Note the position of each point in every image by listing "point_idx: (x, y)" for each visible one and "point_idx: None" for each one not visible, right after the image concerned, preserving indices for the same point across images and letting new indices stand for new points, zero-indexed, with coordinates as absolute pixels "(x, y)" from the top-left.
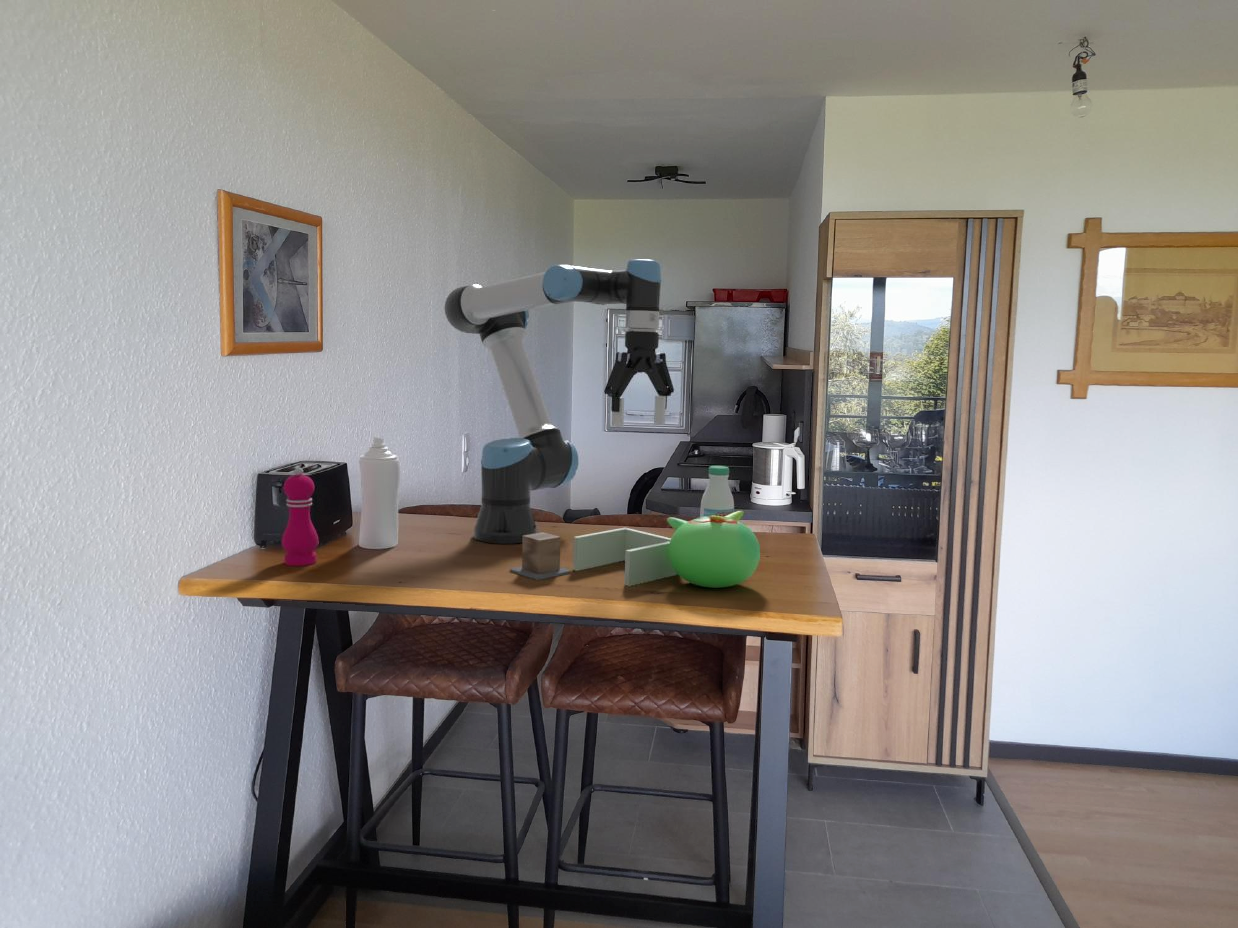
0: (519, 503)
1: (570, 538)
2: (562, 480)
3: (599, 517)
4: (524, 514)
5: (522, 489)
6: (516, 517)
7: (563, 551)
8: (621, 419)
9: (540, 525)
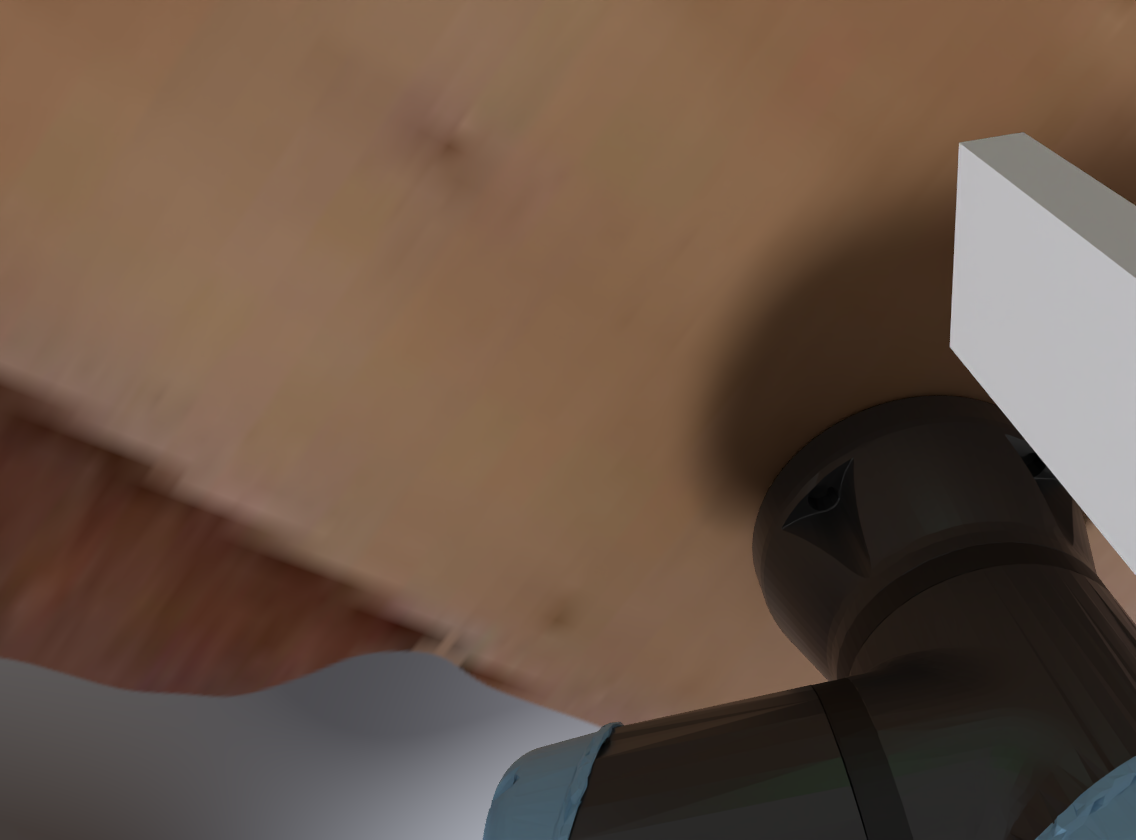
0: (999, 550)
1: (647, 380)
2: (623, 727)
3: (229, 692)
4: (941, 506)
5: (1011, 610)
6: (995, 491)
7: (875, 144)
8: (1082, 184)
9: (605, 657)
